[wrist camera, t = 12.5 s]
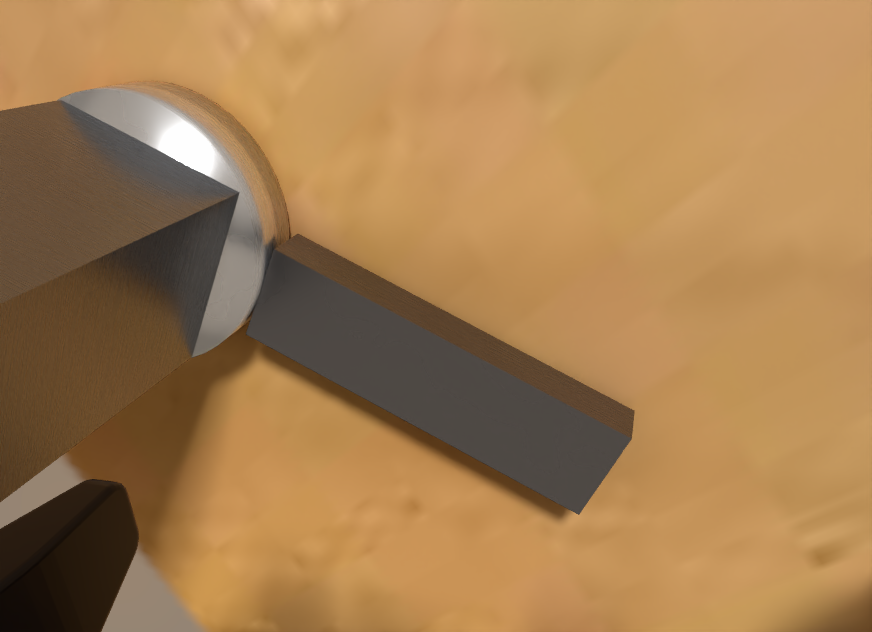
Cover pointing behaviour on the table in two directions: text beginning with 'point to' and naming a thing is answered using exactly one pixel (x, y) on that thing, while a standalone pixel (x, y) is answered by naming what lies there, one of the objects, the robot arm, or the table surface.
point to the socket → (93, 276)
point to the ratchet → (370, 317)
